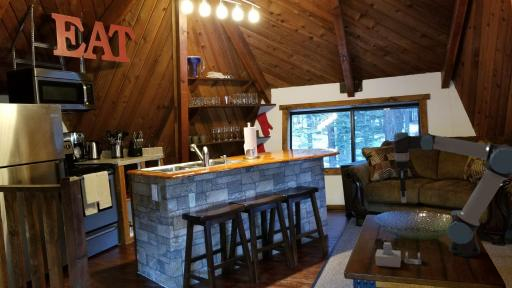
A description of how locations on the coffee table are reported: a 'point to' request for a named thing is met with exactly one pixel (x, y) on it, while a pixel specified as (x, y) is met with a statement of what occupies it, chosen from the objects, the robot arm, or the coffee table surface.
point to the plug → (387, 248)
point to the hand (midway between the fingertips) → (403, 202)
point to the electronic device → (380, 243)
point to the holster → (412, 261)
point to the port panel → (388, 258)
